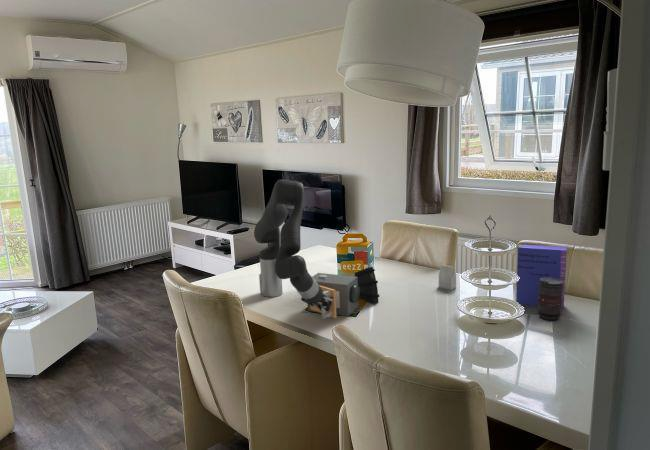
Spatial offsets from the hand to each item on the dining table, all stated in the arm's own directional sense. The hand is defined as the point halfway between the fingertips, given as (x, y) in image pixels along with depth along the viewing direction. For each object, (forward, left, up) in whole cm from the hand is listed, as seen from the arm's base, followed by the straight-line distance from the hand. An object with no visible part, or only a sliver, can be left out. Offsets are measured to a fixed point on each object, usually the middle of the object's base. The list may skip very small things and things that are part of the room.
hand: (325, 308), depth 196 cm
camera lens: (+78, +30, -5) cm, 84 cm away
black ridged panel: (+6, +28, -5) cm, 29 cm away
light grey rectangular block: (+35, +54, -5) cm, 64 cm away
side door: (-4, +2, -3) cm, 6 cm away
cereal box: (+74, +44, -5) cm, 86 cm away
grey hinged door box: (-3, +13, -5) cm, 14 cm away
